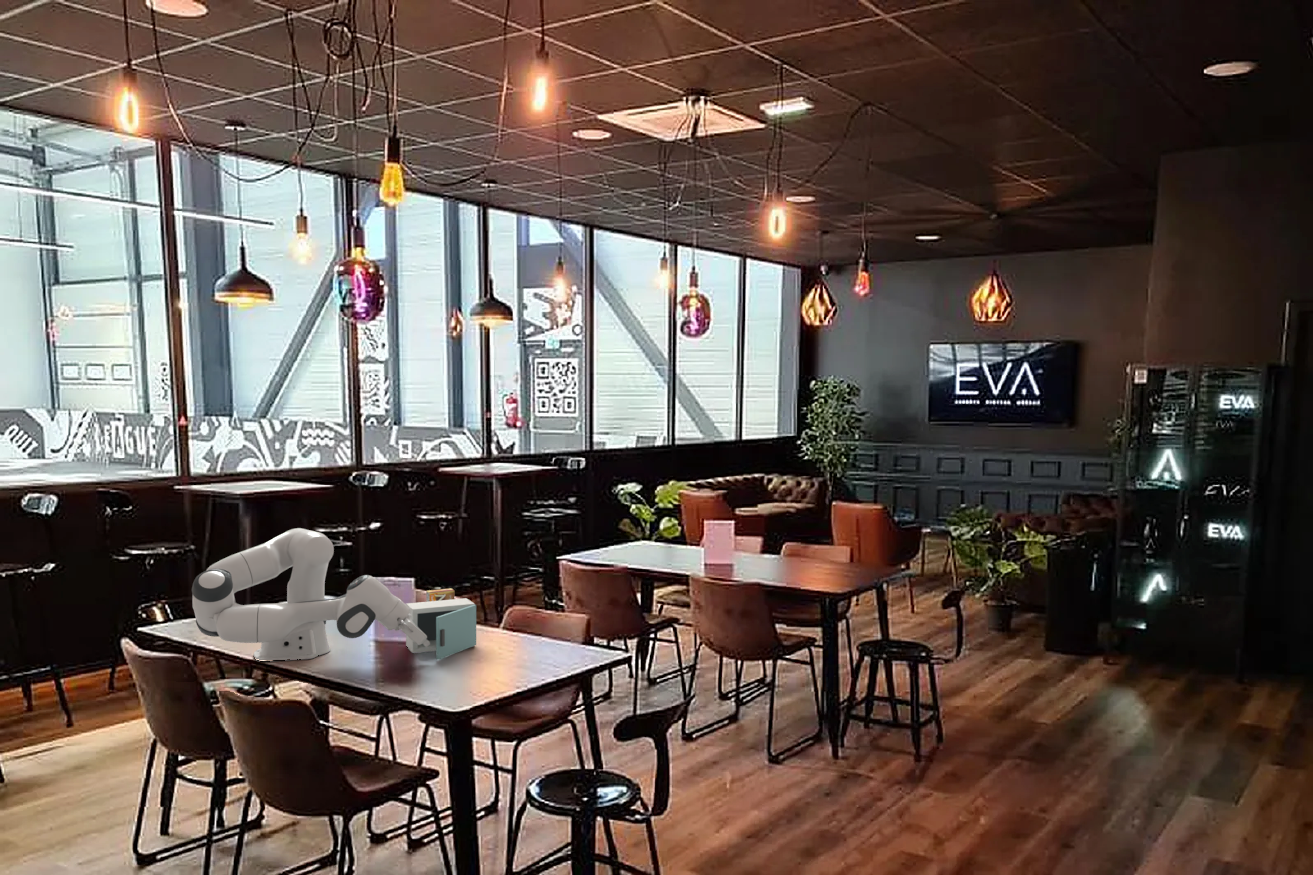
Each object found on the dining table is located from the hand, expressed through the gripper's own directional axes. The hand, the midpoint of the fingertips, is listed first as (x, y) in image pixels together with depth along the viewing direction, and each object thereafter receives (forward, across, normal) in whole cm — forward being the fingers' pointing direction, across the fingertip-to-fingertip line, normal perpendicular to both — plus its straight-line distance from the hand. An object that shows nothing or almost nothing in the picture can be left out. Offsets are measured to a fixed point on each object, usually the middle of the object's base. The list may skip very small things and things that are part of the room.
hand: (427, 644), depth 286 cm
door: (+11, +4, -4) cm, 12 cm away
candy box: (+12, +33, -4) cm, 35 cm away
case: (+9, +17, -2) cm, 19 cm away
